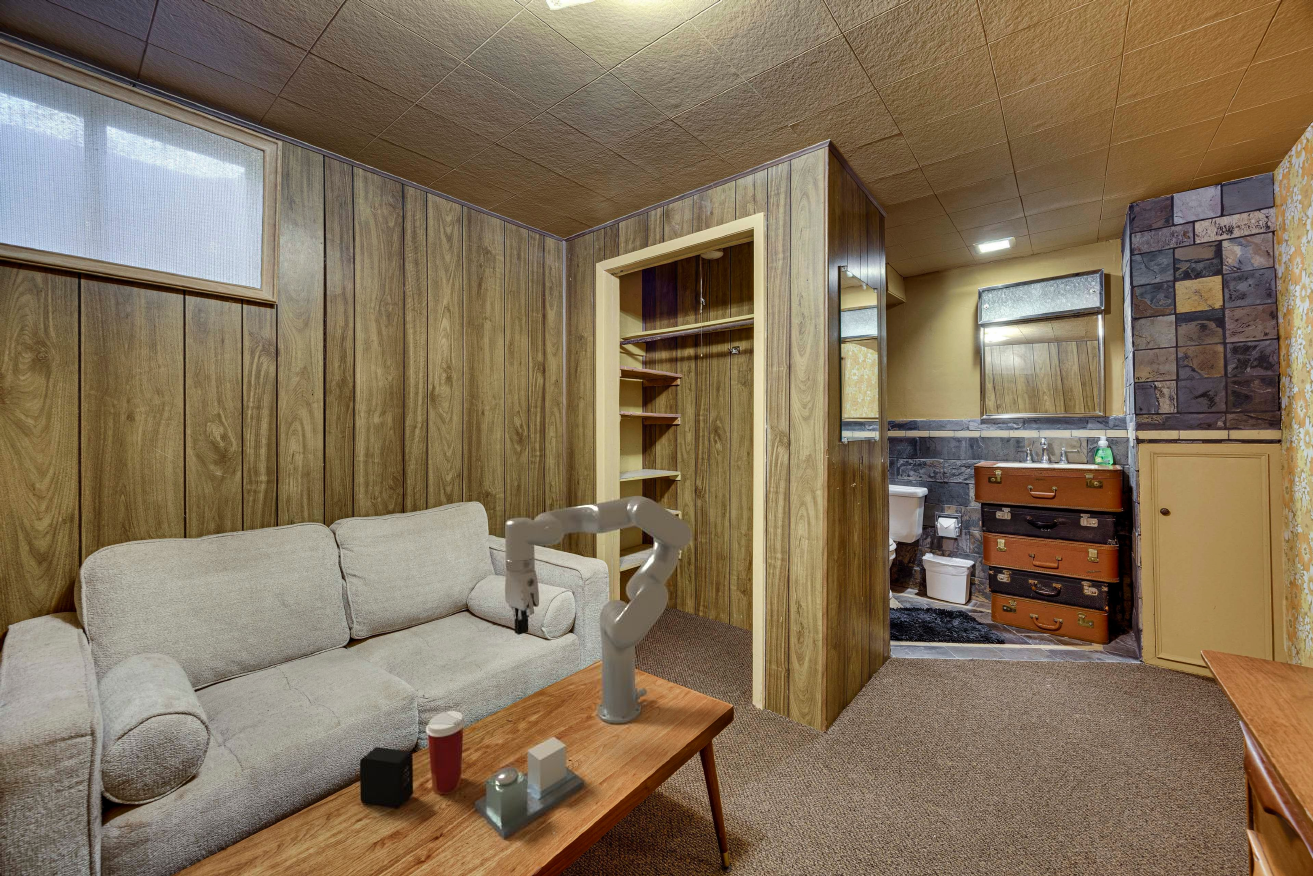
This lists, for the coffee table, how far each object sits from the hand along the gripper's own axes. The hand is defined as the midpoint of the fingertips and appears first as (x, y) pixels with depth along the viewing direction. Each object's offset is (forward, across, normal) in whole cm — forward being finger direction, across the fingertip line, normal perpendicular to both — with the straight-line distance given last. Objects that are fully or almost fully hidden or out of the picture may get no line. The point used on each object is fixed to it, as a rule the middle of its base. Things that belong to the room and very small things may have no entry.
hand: (521, 632), depth 134 cm
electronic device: (+27, +1, +34) cm, 43 cm away
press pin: (+24, -24, +19) cm, 38 cm away
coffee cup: (+27, -4, +23) cm, 36 cm away
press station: (+27, -23, +12) cm, 37 cm away
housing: (+25, -22, +8) cm, 35 cm away
